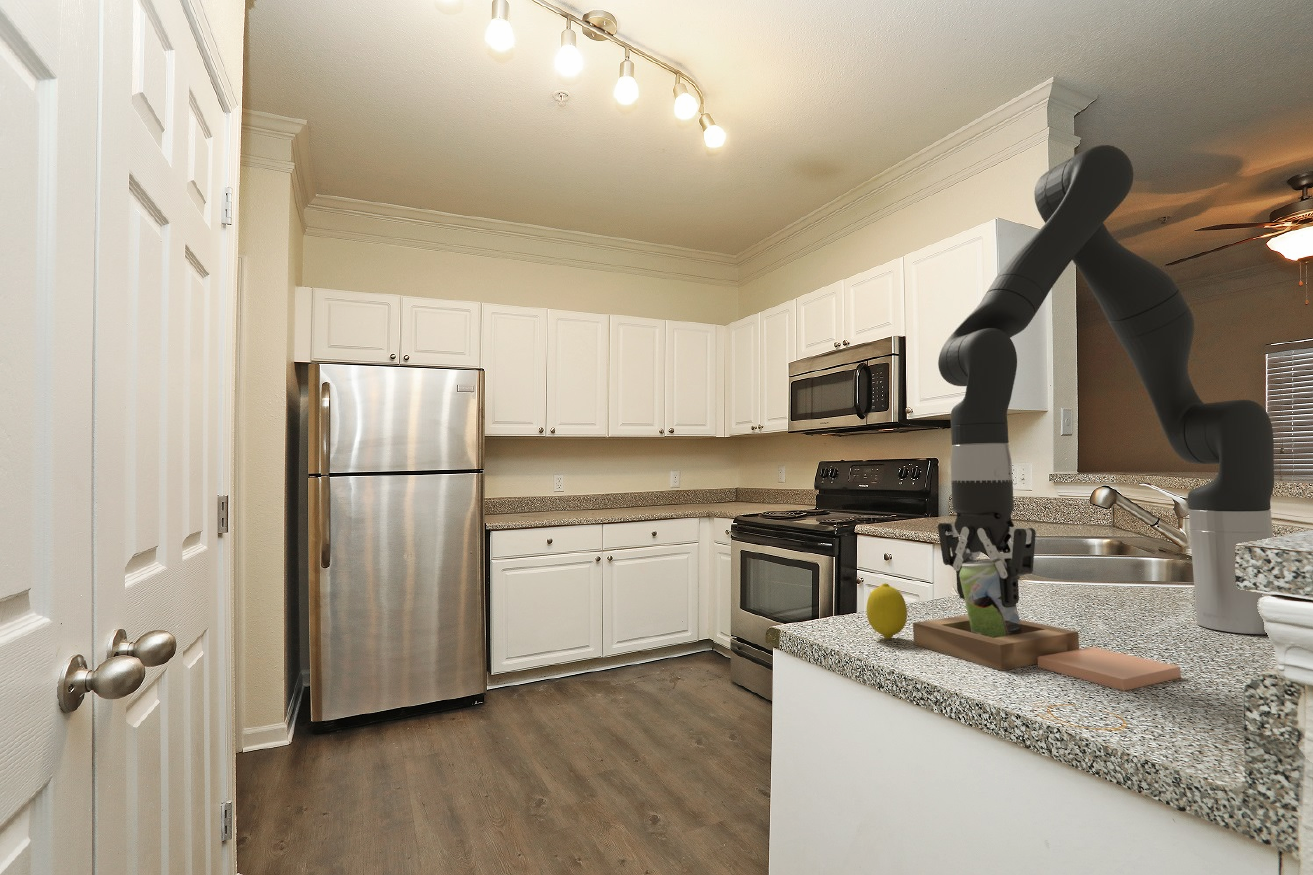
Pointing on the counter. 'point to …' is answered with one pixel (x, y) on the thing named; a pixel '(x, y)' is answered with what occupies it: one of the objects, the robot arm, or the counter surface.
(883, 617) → the lemon
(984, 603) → the beverage can
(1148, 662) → the plate
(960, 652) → the board
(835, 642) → the counter surface
